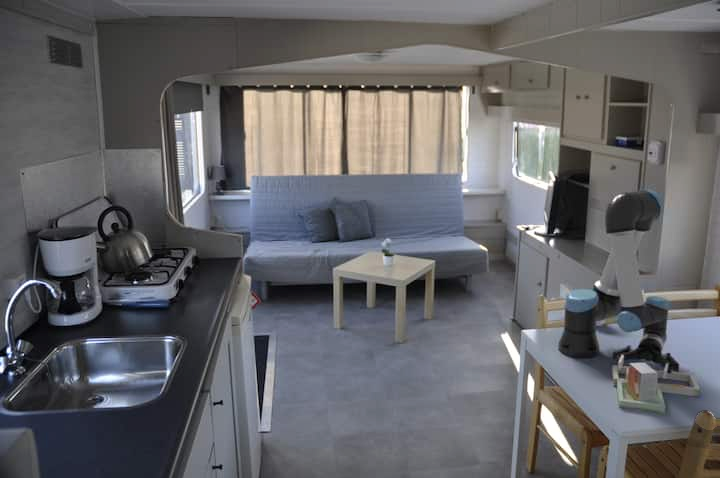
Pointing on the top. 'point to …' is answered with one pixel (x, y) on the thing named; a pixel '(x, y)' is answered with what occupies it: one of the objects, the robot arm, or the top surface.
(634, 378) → the small box
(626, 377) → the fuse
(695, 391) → the beige divided frame
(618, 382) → the tray
